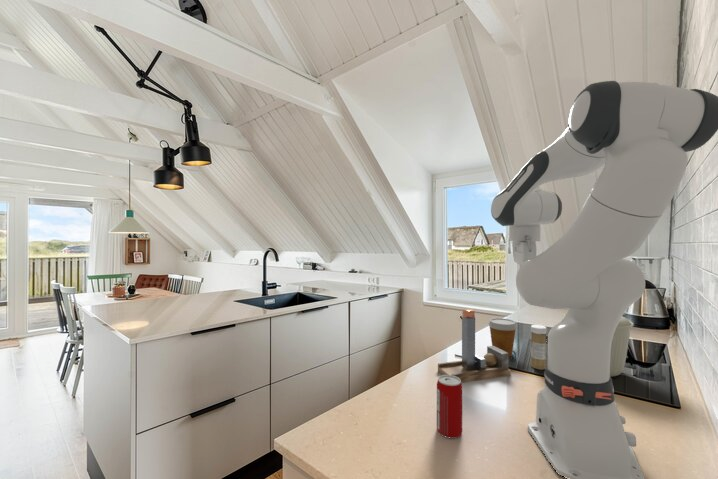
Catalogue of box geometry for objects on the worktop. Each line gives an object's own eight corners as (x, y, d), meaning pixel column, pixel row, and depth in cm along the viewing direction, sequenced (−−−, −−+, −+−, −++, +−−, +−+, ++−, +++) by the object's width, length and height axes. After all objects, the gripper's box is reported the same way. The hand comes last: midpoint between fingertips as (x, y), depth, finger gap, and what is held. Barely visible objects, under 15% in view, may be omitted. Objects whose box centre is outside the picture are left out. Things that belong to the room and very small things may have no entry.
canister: (589, 383, 96) (589, 311, 96) (550, 359, 114) (551, 298, 114) (649, 382, 97) (650, 310, 96) (602, 358, 115) (602, 298, 114)
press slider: (469, 373, 99) (469, 313, 99) (457, 364, 106) (457, 308, 105) (485, 370, 101) (486, 312, 101) (473, 362, 107) (473, 307, 107)
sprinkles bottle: (534, 363, 111) (534, 323, 111) (548, 367, 108) (549, 326, 107) (528, 366, 108) (528, 326, 108) (542, 371, 105) (543, 329, 104)
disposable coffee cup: (523, 356, 117) (523, 323, 117) (502, 360, 113) (502, 326, 113) (502, 348, 126) (502, 316, 125) (482, 351, 122) (482, 319, 122)
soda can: (467, 437, 71) (467, 382, 71) (444, 441, 70) (444, 385, 69) (453, 423, 76) (453, 371, 76) (432, 426, 75) (432, 374, 75)
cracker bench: (453, 383, 96) (453, 361, 96) (437, 371, 105) (437, 350, 105) (510, 375, 102) (510, 354, 102) (491, 364, 111) (491, 344, 110)
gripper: (542, 235, 94) (542, 284, 94) (529, 235, 113) (529, 275, 114) (518, 236, 96) (518, 283, 96) (509, 235, 115) (509, 275, 116)
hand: (524, 279), depth 105 cm, fingers closed
